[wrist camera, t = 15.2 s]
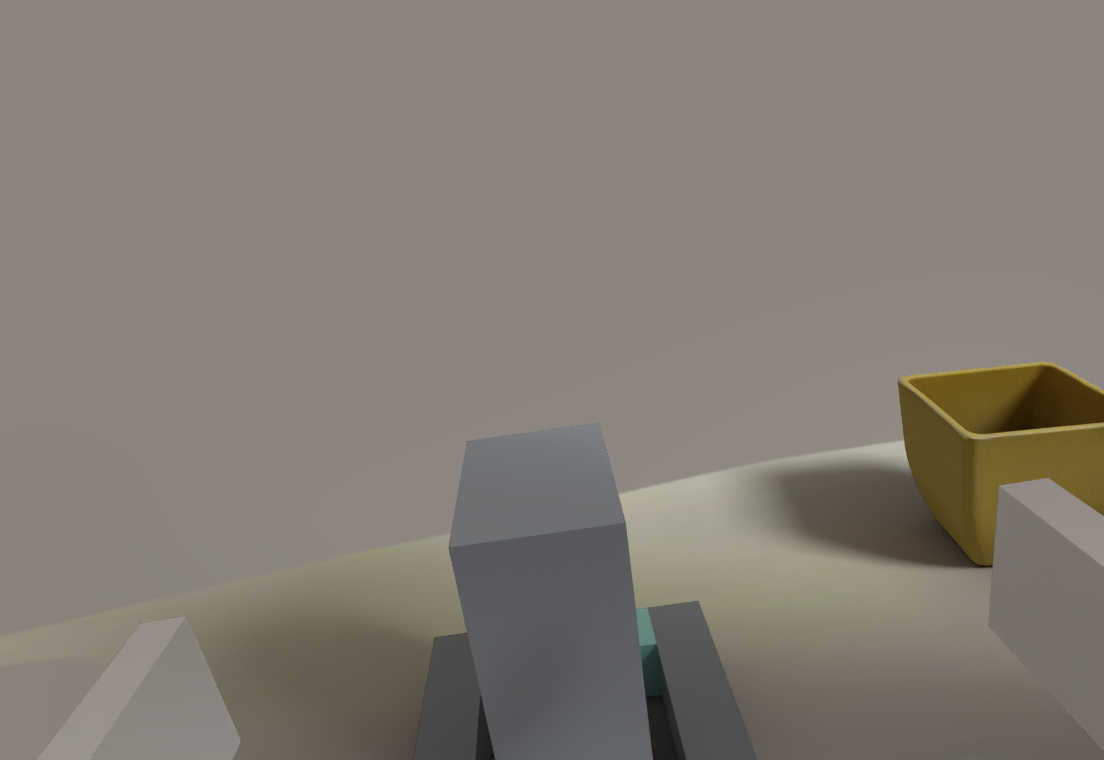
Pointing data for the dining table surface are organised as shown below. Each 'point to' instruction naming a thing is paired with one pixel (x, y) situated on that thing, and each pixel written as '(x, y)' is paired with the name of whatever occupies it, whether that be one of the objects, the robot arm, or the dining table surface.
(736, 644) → the dining table surface
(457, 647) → the socket
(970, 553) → the flower pot
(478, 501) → the plug
